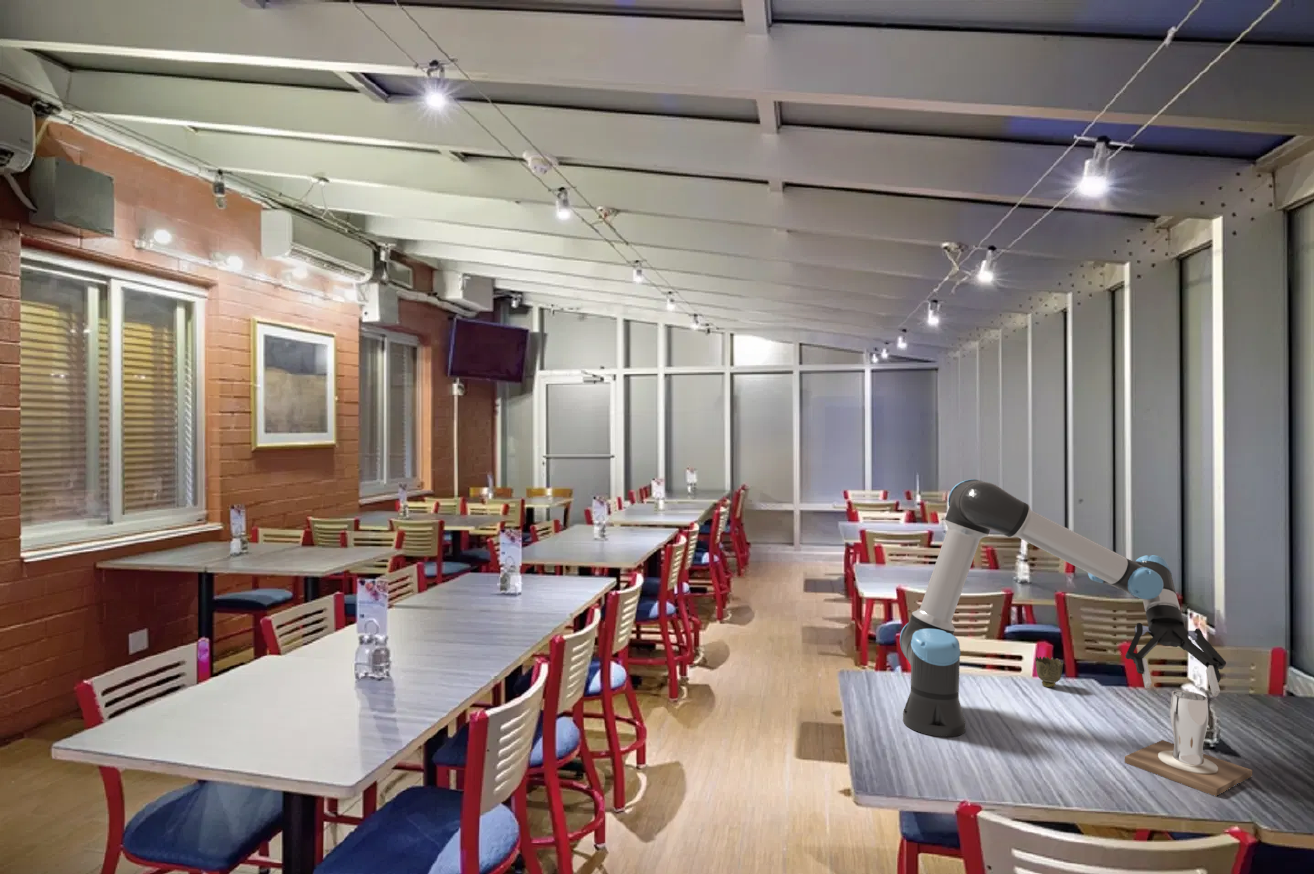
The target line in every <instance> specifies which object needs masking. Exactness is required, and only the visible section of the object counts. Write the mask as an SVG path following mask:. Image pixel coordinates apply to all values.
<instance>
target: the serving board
mask: <svg viewBox="0 0 1314 874" xmlns="http://www.w3.org/2000/svg"><path fill="white" fill-rule="evenodd" d="M1173 749H1174V742H1173V743H1172V742H1169V741H1167V740H1163V739H1162V740H1159V741H1157V742H1154V743H1152V744H1150V745H1147V746H1145V747H1143V748H1141V749H1139V750H1136V751H1134V752H1132V753H1129V754H1127V755H1124V764H1128V765H1129V766H1133V767H1136V768H1138V769H1141V770H1144V771H1147V772H1148V773H1151V772H1152V774H1154V773H1155V774H1154V775H1157V774H1158V776H1159V775H1160V777H1162V776H1163V777H1162V778H1165V779H1167V778H1168V780H1170V781H1173V782H1176V783H1179V784H1181V783H1182V784H1181V785H1183V786H1187V787H1190V788H1191V789H1195V790H1197V791H1200V792H1203V793H1206V794H1208V793H1209V794H1208V795H1210V794H1211V796H1213V795H1215V796H1214V797H1216V796H1217V795H1219V794H1220V793H1222V794H1224V793H1225V791H1226V790H1227V791H1229V790H1230V789H1229V788H1231V787H1233V786H1234V785H1236V784H1237V783H1240V782H1242V781H1244V780H1245V779H1247V780H1249V779H1250V778H1249V777H1251V776H1252V777H1253V769H1250V768H1247V767H1244V766H1241V765H1238V764H1236V763H1233V762H1230V761H1226V760H1224V759H1220V758H1217V757H1215V756H1212V755H1209V754H1206V753H1203V758H1204V763H1205V765H1204V766H1202V767H1192V766H1187V765H1184V764H1181V763H1178V762H1176V761H1175V760H1173V759H1172V753H1173ZM1252 777H1251V778H1252ZM1248 778H1249V779H1248ZM1245 781H1246V780H1245ZM1245 781H1244V782H1245ZM1242 783H1243V782H1242ZM1240 784H1241V783H1240ZM1236 786H1237V785H1236ZM1233 788H1234V787H1233ZM1228 789H1229V790H1228ZM1231 789H1232V788H1231ZM1227 791H1226V792H1227ZM1223 792H1224V793H1223ZM1220 795H1221V794H1220ZM1220 795H1219V796H1220ZM1217 797H1218V796H1217Z"/></svg>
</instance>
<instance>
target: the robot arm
mask: <svg viewBox="0 0 1314 874" xmlns="http://www.w3.org/2000/svg"><path fill="white" fill-rule="evenodd" d="M947 502H948V509H947V511H946V515H945V518H944V522H945V525H946V526H947V530H946V533H945V536H944V539H943V540H942V541H943V542H942V544H941V548H940V551H939V553H938V556H937V559H936V561H935V564H934V568H933V570H932V573H931V576H930V579H929V582H928V583H927V587H926V590H925V593H924V596H923V599H922V602H921V604H920V607H919V609H917V610H914V611H912V612H911V616H910V618H909V621H908V622H907V623H905V625H904V627H903V628H902V629H901V631H900V636H899V644H900V645H899V646H900V649H901V652H902V654H903V656H904V657H905V659H907V661H908V663H909V664H910V693H909V696H908V697H907V700H906V703H905V705H904V709H903V712H902V722H903V723H904V725H905V726H906V727H908V728H909V729H911V730H913V731H915V732H917V731H918V732H917V733H920V732H921V734H924V735H928V736H935V737H944V738H948V737H949V738H951V737H958V736H961V735H963V734H964V733H965V732H966V718H965V716H964V713H963V709H962V706H961V703H960V698H959V697H960V694H959V693H960V691H959V690H960V663H961V661H960V660H961V659H960V657H961V646H960V641H959V639H958V638H957V637H956V636H955V635H954V633H955V630H956V628H955V627H954V624H953V622H952V620H953V618H954V615H955V612H956V609H957V606H958V603H959V600H960V598H961V596H962V593H963V589H964V587H965V584H966V580H967V578H968V575H969V572H970V570H971V567H972V563H973V561H974V559H975V555H976V552H977V550H978V546H979V544H980V542H981V539H983V538H985V537H988V536H989V534H990V532H991V530H992V531H994V532H997V533H999V534H1002V535H1004V536H1006V537H1008V538H1014V537H1016V538H1019V539H1021V540H1023V541H1025V542H1027V543H1029V544H1031V545H1032V546H1035V547H1036V548H1038V549H1040V550H1043V551H1045V552H1046V553H1048V554H1050V555H1052V556H1053V557H1054V556H1055V557H1056V558H1058V559H1060V560H1062V561H1064V562H1066V563H1067V564H1070V565H1072V566H1075V567H1076V568H1078V569H1080V570H1082V571H1084V572H1087V575H1088V578H1089V579H1090V580H1091V581H1092V582H1096V583H1100V584H1104V585H1107V586H1108V585H1109V586H1111V587H1115V588H1116V589H1118V590H1121V591H1123V592H1125V593H1128V594H1130V595H1132V596H1133V597H1135V598H1138V599H1141V600H1142V603H1143V607H1144V611H1145V617H1146V620H1147V626H1146V625H1143V624H1142V623H1141V622H1136V625H1135V627H1134V636H1133V638H1132V640H1131V642H1130V645H1129V647H1128V649H1127V651H1126V653H1125V656H1124V657H1125V659H1127V660H1132V662H1133V663H1134V664H1135V668H1136V673H1138V674H1140V675H1142V679H1143V681H1142V682H1143V685H1144V688H1145V689H1148V690H1149V689H1150V687H1151V685H1152V679H1151V676H1150V675H1151V674H1150V670H1149V664H1148V660H1147V658H1146V656H1147V655H1148V654H1150V652H1151V651H1152V650H1153V649H1154V648H1156V646H1157V645H1158V644H1160V645H1161V646H1163V647H1169V646H1170V647H1172V648H1178V647H1180V649H1182V650H1183V651H1186V652H1188V653H1189V654H1190V655H1191V656H1192V657H1194V658H1195V659H1196V660H1198V661H1199V662H1200V663H1201V664H1202V665H1203V666H1204V667H1205V668H1206V670H1205V674H1206V676H1207V677H1206V678H1207V680H1208V684H1209V687H1210V692H1211V696H1212V697H1214V698H1217V697H1218V695H1220V692H1221V690H1220V685H1219V683H1220V681H1221V679H1222V677H1221V674H1220V670H1223V669H1224V668H1225V666H1226V665H1227V662H1226V660H1225V659H1224V658H1223V657H1222V656H1221V654H1220V653H1219V652H1218V651H1217V650H1216V649H1215V648H1214V647H1213V645H1211V643H1210V642H1209V641H1208V640H1207V638H1205V636H1204V634H1203V631H1202V630H1201V629H1200V628H1195V630H1188V629H1187V628H1186V626H1185V622H1184V618H1183V615H1182V611H1181V607H1180V603H1179V600H1178V596H1177V592H1176V589H1175V585H1174V580H1173V575H1172V572H1171V569H1170V566H1169V564H1168V562H1167V560H1166V559H1165V558H1163V556H1162V557H1161V556H1160V555H1154V554H1152V555H1147V554H1146V555H1143V556H1140V557H1138V558H1136V560H1132V559H1129V558H1127V557H1125V556H1123V555H1121V554H1119V553H1117V552H1115V551H1114V550H1111V549H1109V548H1108V547H1105V546H1103V545H1101V544H1099V543H1097V542H1095V541H1093V540H1091V539H1089V538H1088V537H1085V536H1083V535H1081V534H1080V533H1077V532H1075V531H1073V530H1071V529H1069V528H1068V527H1066V526H1063V525H1061V524H1059V523H1058V522H1055V521H1054V520H1051V519H1049V518H1047V517H1046V516H1044V515H1041V514H1040V513H1037V512H1035V511H1034V510H1032V509H1031V505H1030V504H1028V503H1027V502H1024V501H1022V500H1021V499H1019V498H1017V497H1016V496H1014V495H1012V494H1010V493H1009V492H1007V491H1006V490H1004V489H1003V488H1001V487H999V486H998V485H996V484H994V483H992V482H987V481H984V480H981V479H965V480H963V481H960V482H958V483H956V484H955V486H953V487H952V488H951V490H950V492H949V494H948V500H947ZM1146 633H1148V635H1150V636H1151V639H1150V640H1149V641H1148V642H1147V643H1145V645H1144V646H1143V647H1141V649H1140V650H1139V651H1138V652H1137V653H1136V652H1135V651H1136V648H1137V646H1138V644H1139V641H1140V639H1141V637H1142V636H1143V635H1145V634H1146ZM1189 637H1190V638H1191V639H1190V638H1189ZM1193 641H1194V642H1195V643H1193Z"/></svg>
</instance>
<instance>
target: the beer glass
mask: <svg viewBox="0 0 1314 874" xmlns="http://www.w3.org/2000/svg"><path fill="white" fill-rule="evenodd" d="M1170 699H1171V700H1170V710H1169V711H1170V722H1171V729H1172V734H1173V744H1174V749H1173V753H1172V759H1173V760H1175V761H1176V762H1178V763H1181V764H1184V765H1187V766H1192V767H1202V766H1204V765H1205V763H1204V758H1203V754H1204V753H1203V752H1204V751H1203V749H1204V742H1205V738H1206V735H1207V734H1206V733H1207V729H1208V724H1209V704H1208V703H1209V701H1208V700H1209V699H1208V697H1207V696H1205V695H1203V694H1201V693H1197V692H1194V691H1189V690H1177V689H1176V690H1172V691H1171V698H1170Z"/></svg>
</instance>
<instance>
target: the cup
mask: <svg viewBox="0 0 1314 874" xmlns="http://www.w3.org/2000/svg"><path fill="white" fill-rule="evenodd" d="M1034 659H1035V667H1036V668H1035V669H1036V675H1037V677H1038V678H1039V679H1040V680H1041V684H1042V686H1043V687H1046V688H1049V687H1052V688H1051V689H1053V688H1055V687H1056V683H1057V682H1059V681H1060V680H1061V677H1062V673H1063V667H1064V662H1062V660H1060V659H1059V658H1054V657H1053V656H1052V657H1051V658H1050V657H1048V656H1046V657H1045V656H1039V657H1038V656H1036V657H1035V658H1034Z"/></svg>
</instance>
